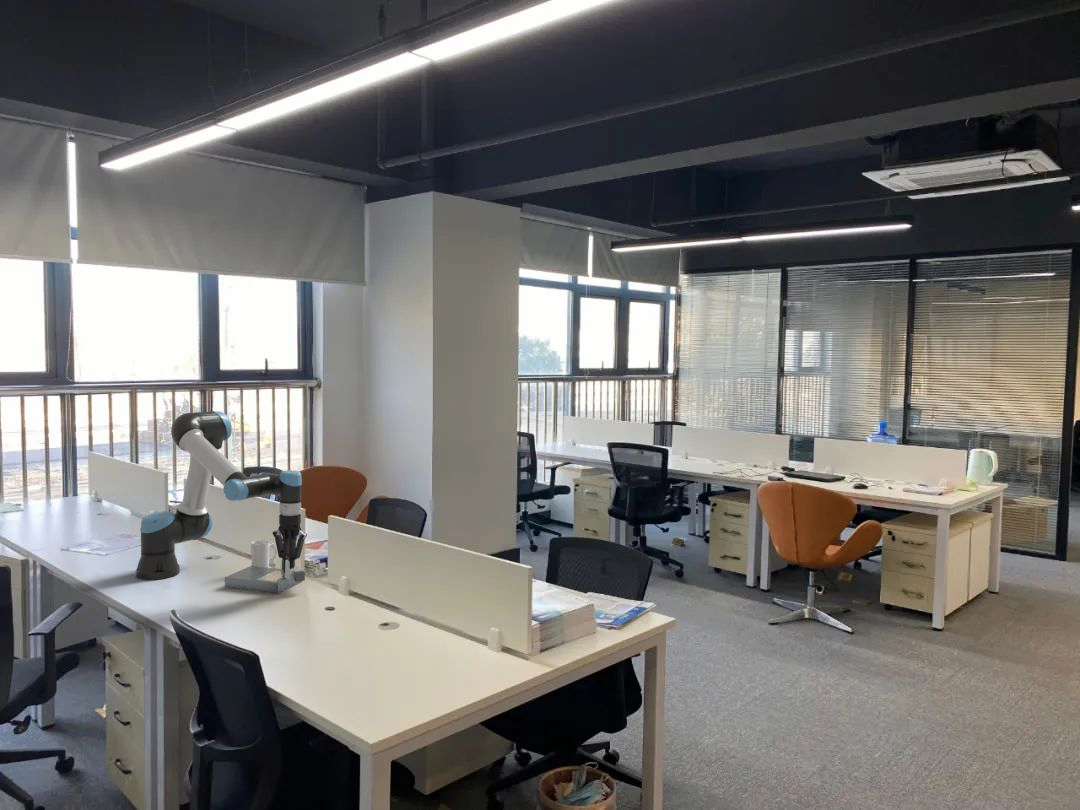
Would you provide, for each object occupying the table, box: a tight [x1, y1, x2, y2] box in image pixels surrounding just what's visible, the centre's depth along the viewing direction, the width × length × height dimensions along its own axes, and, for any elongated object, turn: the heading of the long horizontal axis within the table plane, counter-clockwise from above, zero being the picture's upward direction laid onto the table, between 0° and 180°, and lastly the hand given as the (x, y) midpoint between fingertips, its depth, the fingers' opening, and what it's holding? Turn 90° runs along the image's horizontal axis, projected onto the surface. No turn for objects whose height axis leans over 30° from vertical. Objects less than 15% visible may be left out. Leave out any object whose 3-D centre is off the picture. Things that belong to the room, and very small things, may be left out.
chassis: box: [224, 565, 303, 595], centre depth 288 cm, size 22×16×4 cm
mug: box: [250, 539, 278, 568], centre depth 305 cm, size 10×7×12 cm, turn 133°
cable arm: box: [281, 558, 306, 582], centre depth 287 cm, size 19×4×4 cm, turn 34°
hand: (288, 577), depth 281 cm, fingers closed
